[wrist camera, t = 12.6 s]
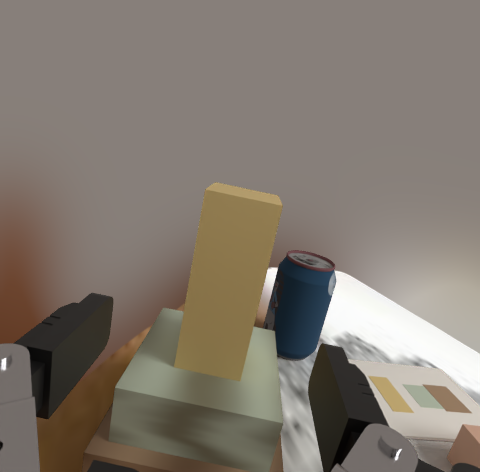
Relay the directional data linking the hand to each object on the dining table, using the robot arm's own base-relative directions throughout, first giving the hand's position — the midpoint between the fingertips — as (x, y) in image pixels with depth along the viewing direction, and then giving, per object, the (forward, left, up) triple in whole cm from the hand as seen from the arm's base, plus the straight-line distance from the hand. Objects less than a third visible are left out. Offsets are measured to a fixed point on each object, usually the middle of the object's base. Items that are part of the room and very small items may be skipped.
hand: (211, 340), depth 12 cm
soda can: (-9, -26, -16) cm, 32 cm away
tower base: (0, -10, -15) cm, 18 cm away
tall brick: (0, -10, -7) cm, 12 cm away
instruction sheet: (-23, -21, -15) cm, 35 cm away
